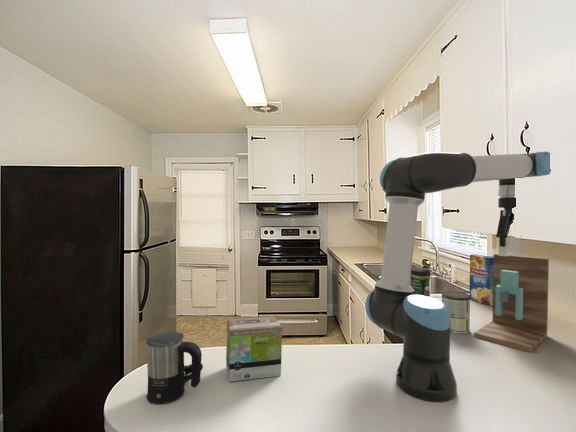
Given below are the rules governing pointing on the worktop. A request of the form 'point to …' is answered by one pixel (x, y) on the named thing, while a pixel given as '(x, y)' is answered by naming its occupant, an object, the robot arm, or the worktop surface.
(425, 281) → the coffee jar
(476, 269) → the juice carton
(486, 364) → the worktop surface
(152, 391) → the milk frother
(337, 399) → the worktop surface
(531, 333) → the hook stand
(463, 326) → the coffee can
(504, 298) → the hook arm
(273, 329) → the tea box
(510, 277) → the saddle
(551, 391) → the worktop surface
